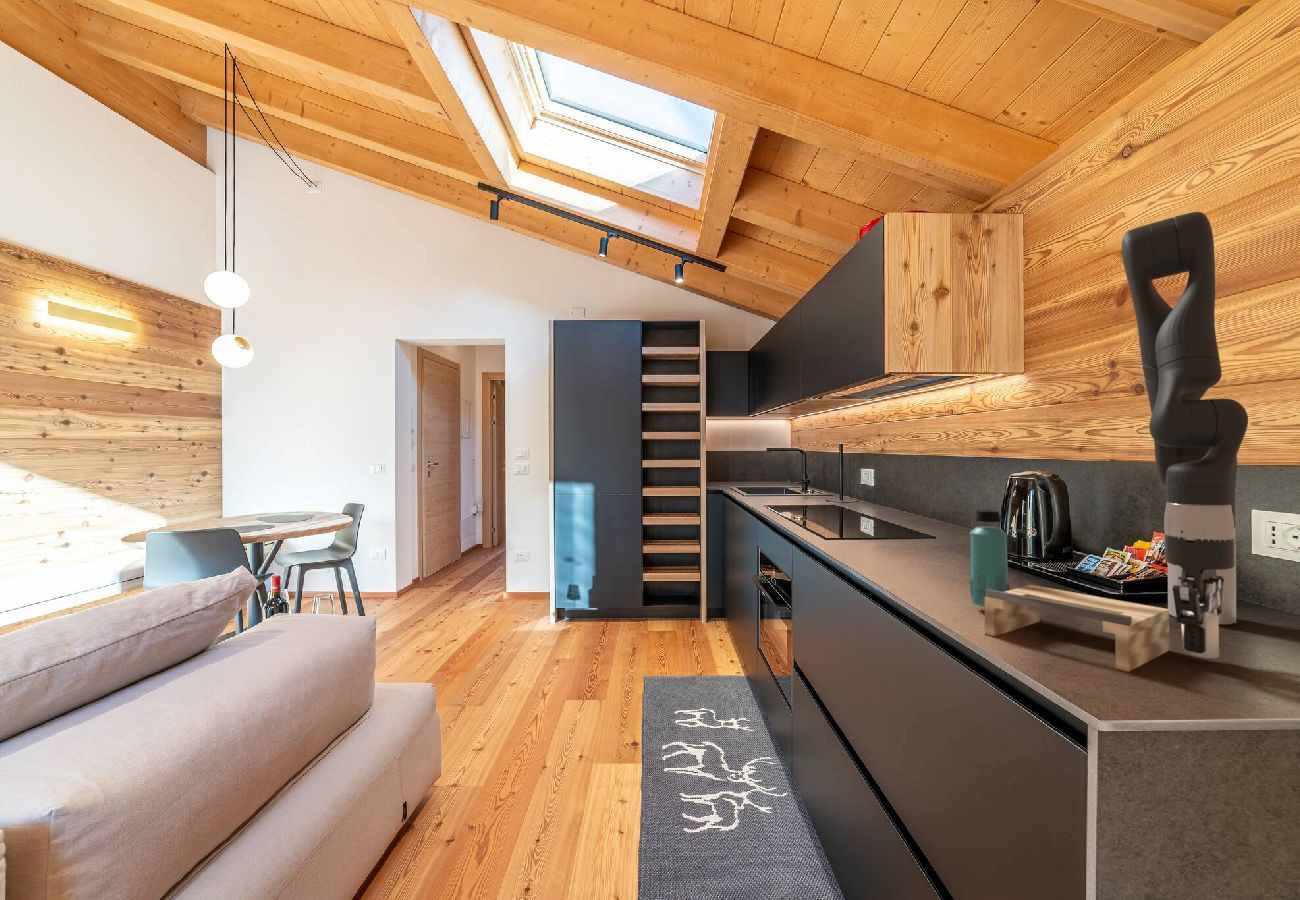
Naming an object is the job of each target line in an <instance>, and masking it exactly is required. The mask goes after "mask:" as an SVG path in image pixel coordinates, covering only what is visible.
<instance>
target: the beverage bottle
mask: <svg viewBox="0 0 1300 900" xmlns="http://www.w3.org/2000/svg"><path fill="white" fill-rule="evenodd" d="M975 521H976V522H982V523H983V522H984V523H1000V522H1001V516H1000V511H998V510H991V509H981V510H980V509H979V510H977V511H976V516H975ZM969 534H970V568H969V569H970V598H971V601H972V604H973V605H976V606H979V607H982V608H985V597H986V594H985V590H986V589H991V590H997V591H1002V592H1005V591H1009V590H1010V587H1009V586H1010V583H1009V579H1010V578H1009V577H1010V575H1009V569H1010V568H1009V566H1008V565H1009V564H1008V547H1007V546H1008V545H1007V543H1008V540H1007V537H1008V534H1007V533H1006V532H1005V530H1003V528H1001V527H997V526H986V525H985V526H983V525H982V526H976V527H974V528H973V529H971V531H970V532H969Z"/></svg>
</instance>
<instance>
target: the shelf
mask: <svg viewBox="0 0 1300 900" xmlns="http://www.w3.org/2000/svg"><path fill="white" fill-rule="evenodd" d="M985 594H986V597H985V607H984V635H985V634H988V635H987V636H989V635H991V636H990V637H992V636H995V637H997V636H996V635H998V636H1001V635H1003V634H1002V633H1004V634H1007V633H1010V632H1012V631H1016V630H1018V629H1022V628H1026V627H1028V626H1030V625H1034V624H1036V623H1039V622H1041V621H1040V617H1041V616H1040V615H1041V614H1040V612H1041V611H1040V609H1043V610H1048V611H1054V612H1059V613H1063V614H1067V615H1068V614H1069V615H1072V616H1078V617H1083V618H1088V619H1091V620H1096V621H1102V632H1103V633H1108V634H1114V637H1115V638H1114V641H1115V643H1114V644H1115V645H1114V647H1115V669H1116V670H1120V671H1123V672H1128V673H1130V672H1131V671H1133V670H1135V669H1137V668H1139V667H1141V666H1143V665H1144V664H1146V663H1148V662H1150V661H1152V660H1153V659H1156V658H1157V657H1158V658H1159V657H1160V656H1161V655H1163V654H1165V653H1168V652H1169V651H1170V614H1169V609H1168V608H1163V607H1160V606H1159V607H1158V606H1153V605H1146V604H1141V603H1136V602H1131V601H1126V600H1119V599H1118V600H1117V599H1113V598H1107V597H1102V596H1096V595H1090V594H1085V593H1079V592H1073V591H1068V590H1063V589H1062V590H1061V589H1056V588H1050V587H1045V586H1039V585H1034V584H1029V585H1025V586H1024V585H1023V586H1020V587H1018V588H1017V587H1016V588H1012V589H1009V591H1005V592H1002V591H997V590H991V589H986V590H985ZM1009 631H1010V632H1009ZM1006 632H1007V633H1006ZM1000 634H1001V635H1000Z"/></svg>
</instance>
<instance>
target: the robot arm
mask: <svg viewBox="0 0 1300 900" xmlns="http://www.w3.org/2000/svg"><path fill="white" fill-rule="evenodd" d="M1121 255H1122V262H1123V267H1124V271H1125V272H1124V273H1125V275H1126V279H1127V284H1128V287H1129V288H1128V289H1129V293H1130V297H1131V301H1132V305H1133V308H1134V309H1133V310H1134V312H1135V313H1134V314H1135V318H1136V324H1137V332H1138V333H1137V334H1138V341H1139V349H1140V359H1141V364H1142V365H1141V366H1142V372H1143V378H1144V382H1145V387H1146V391H1147V396H1148V401H1149V406H1150V413H1151V417H1150V421H1149V425H1148V427H1149V429H1148V431H1149V433H1150V435H1151V438H1152V439H1153V442H1154V443H1153V444H1154V445H1153V446H1154V458H1155V459H1154V460H1155V469H1156V474H1157V478H1158V480H1159V482H1160V484H1161V485H1162V486H1163V487H1165V511H1164V516H1163V517H1164V518H1163V521H1164V522H1163V523H1164V524H1163V526H1164V533H1163V535H1164V560H1165V561H1166V562H1167V609H1169V616H1170V615H1171V616H1173V617H1174V618H1176V622H1177V623H1178V624H1179V623H1180V624H1181V623H1182V625H1184V648H1185V649H1186V650H1187V651H1191V652H1196V653H1200V654H1202V653H1204V652H1205V651H1206V628H1205V627H1206V625H1207V624H1206V615H1207V613H1210V612H1211V613H1215V614H1217V615H1218V620H1219V625H1233V623H1235V624H1237V553H1236V552H1237V548H1236V547H1237V546H1236V541H1237V540H1236V486H1237V485H1236V483H1237V471H1238V457H1237V455H1238V453H1239V450H1240V447H1241V445H1242V442H1243V440H1244V437H1245V435H1246V433H1247V429H1248V425H1249V415H1248V413H1247V411H1246V409H1245V407H1244V406H1243V405H1242V404H1241V403H1240V402H1239V401H1237V400H1235V399H1231V398H1208V399H1207V398H1206V399H1202V398H1203V397H1204V395H1205V394H1206V392H1207V391H1208V390H1209V388H1211V387H1214V386H1216V385H1217V384H1218V383H1219V382H1220V381H1221V378H1222V365H1221V361H1220V353H1219V348H1218V347H1219V346H1218V342H1217V341H1218V340H1217V336H1216V325H1215V323H1216V322H1215V321H1216V319H1215V313H1216V312H1215V310H1216V309H1215V307H1216V261H1215V259H1216V258H1215V243H1214V235H1213V229H1212V226H1211V223H1210V219H1209V218H1208V216H1207V215H1206V214H1205V213H1204V212H1201V211H1193V212H1189V213H1185V214H1179V215H1177V216H1174V217H1169V218H1166V219H1165V218H1164V219H1162V220H1158V221H1155V222H1151V223H1149V224H1144V225H1142V226H1141V225H1140V226H1137V227H1134V228H1132V229H1130V230H1128V231H1126V232H1125V233H1124V235H1123V237H1122V240H1121ZM1183 273H1188V278H1187V283H1186V285H1185V288H1184V290H1183V292H1182V293H1181V296H1180V297H1179V299H1178V301H1177V302H1176V303H1175V305H1174V306H1173V308H1172V307H1171V306H1170V305H1169V304H1168V302H1167V301H1165V299H1163V297H1162V296H1161V295H1160V293H1159V292H1158V290H1157V288H1156V287H1155V284H1154V283H1153V280H1157V279H1163V278H1167V277H1171V276H1175V275H1180V274H1183ZM1189 611H1191V612H1193V613H1194V617H1192V616H1188V615H1189Z"/></svg>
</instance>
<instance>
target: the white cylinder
mask: <svg viewBox="0 0 1300 900" xmlns="http://www.w3.org/2000/svg"><path fill="white" fill-rule="evenodd" d="M1188 616H1192V617H1194V613H1193V612H1191V611H1189V615H1188ZM1180 624H1181V627H1180V629H1181V651H1182V652H1183V653H1184V654H1187V655H1190V656H1193V657H1197V658H1198V657H1199V658H1204V659H1217V658H1219V657H1220V648H1219V647H1220V645H1219V643H1220V635H1219V630H1220V629H1219V627H1220V626H1219V625H1220V624H1219V620H1218V615H1217V614H1215V613H1211V612H1210V613H1207V615H1206V624H1207V625H1206V627H1205V628H1206V651H1205V652H1204V653H1202V654H1200V653H1196V652H1191V651H1187V650H1186V649H1185V648H1184V625H1182V623H1180Z"/></svg>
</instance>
